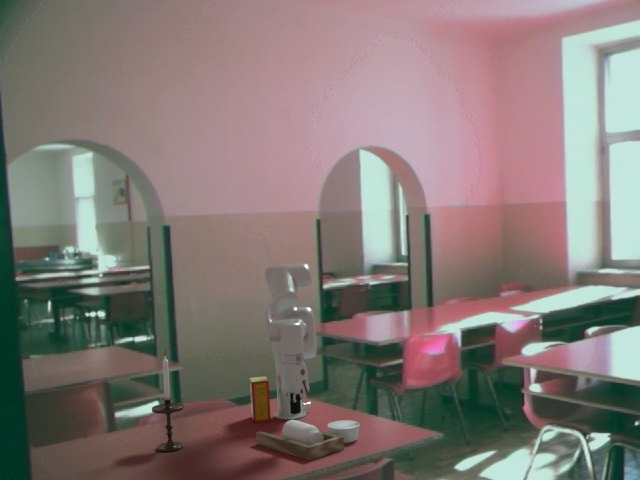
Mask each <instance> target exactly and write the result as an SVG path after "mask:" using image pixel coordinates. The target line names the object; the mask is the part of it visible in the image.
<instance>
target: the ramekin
mask: <svg viewBox="0 0 640 480" xmlns="http://www.w3.org/2000/svg"><path fill="white" fill-rule="evenodd" d="M360 426H361V425H360V423H359V422H358V421H355V420H348V419H347V420H346V419H345V420H343V419H341V420H335V421H331V422H329V423H327V427H326V428H327V430H328V433H331V434H335V435H339V436H343V437H344V444H349V443H354V442H355V441H357V440H358V438H359V433H360Z"/></svg>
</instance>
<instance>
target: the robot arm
mask: <svg viewBox="0 0 640 480" xmlns="http://www.w3.org/2000/svg"><path fill="white" fill-rule="evenodd" d="M264 278H265V282H266V285H267V287H268V289H269V291H270V294H271V297H272V301H271V302H270V303H269V304H268V306H267V308H266V309H265V312H264V316H263V317H264V318H263V320H264V321H263V322H264V334H265V338H266V339H267V341H268V342H271V343H272V345H271V349H272V355H273V360H274V364H275V366H274V367H275V379H276V394H277V396H276V397H277V411H276V412H275V413H273V414H274V418H275V419H277V420H286V421H289V420H296V419H301V418H304V417H306V416H307V411H306V410H305V409H306V408H310V407H312V403H311V401H309V402H306V403H305V402H304V401H303V400H302V399H304V398H307V393H309V391H310V381H309V374H308V373H309V372H308V368H307V365H306V362H305V360H306V359H312V358H313V359H314V358H315V357H316V355H317V352H318V349H317V348H318V346H317V345H318V344H317V331H316V330H317V329H316V320H315V314H314V311H313V309H312V308H311V307H309V306H296V305H297V303H298V301H299V293H298V288H300V287H301V288H302V287H310V286H311V284H312V281H313V272H312V269H311V267H310V265H309V264H308V263H307V262H306V263H305V262H297V263H282V264H272V265H269V266H267V267H266V268H265V269H264Z"/></svg>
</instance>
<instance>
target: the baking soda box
mask: <svg viewBox="0 0 640 480" xmlns="http://www.w3.org/2000/svg"><path fill="white" fill-rule="evenodd" d="M248 380H249V395H250V411H251V412H250V413H251V419H252V422H253V424H257V423H259V424H260V423H265V422H266V423H268V422H271V421H272V419H271V417H272V416H271V403H270V401H271V400H270V385H269V380H268V377H267V376H255V377H249V378H248Z"/></svg>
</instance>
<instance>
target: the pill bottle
mask: <svg viewBox="0 0 640 480" xmlns="http://www.w3.org/2000/svg"><path fill="white" fill-rule="evenodd" d="M319 431H320V430H319V429H318V427H316V426H315V425H313V424H310V423H307V422H302V421H301V420H296V419H290V420H287V421H286V422H285V423H284V425H283V426H282V429H281V437H283V438H286V439H290V440H293V441H297V442H300V443H304V444H308V445H312V444H315V443H318V442H322V441H323V435H322V433H320V432H319Z"/></svg>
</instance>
